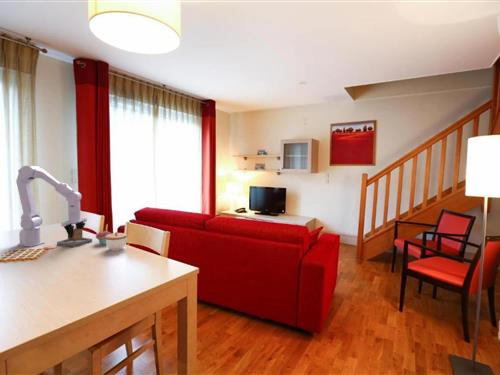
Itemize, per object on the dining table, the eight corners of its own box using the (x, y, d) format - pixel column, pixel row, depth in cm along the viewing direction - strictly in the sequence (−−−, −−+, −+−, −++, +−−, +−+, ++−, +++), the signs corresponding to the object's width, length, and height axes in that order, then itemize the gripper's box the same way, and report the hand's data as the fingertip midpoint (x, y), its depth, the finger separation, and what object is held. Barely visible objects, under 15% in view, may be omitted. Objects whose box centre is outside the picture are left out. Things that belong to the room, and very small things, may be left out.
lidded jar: (118, 253, 141) (118, 235, 140) (100, 251, 143) (100, 233, 142) (131, 247, 151) (131, 230, 150) (114, 245, 153) (114, 229, 153)
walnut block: (67, 240, 153) (67, 229, 152) (75, 238, 158) (75, 228, 157) (74, 241, 152) (74, 230, 151) (82, 239, 156) (82, 228, 156)
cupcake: (115, 241, 160) (115, 222, 159) (106, 245, 152) (106, 225, 151) (102, 240, 161) (101, 221, 160) (92, 245, 153) (92, 224, 152)
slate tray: (57, 244, 151) (56, 241, 151) (76, 239, 162) (76, 236, 162) (73, 247, 147) (73, 244, 147) (92, 241, 159) (91, 238, 159)
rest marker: (40, 248, 143) (40, 248, 143) (51, 245, 149) (51, 245, 149) (48, 250, 142) (48, 249, 142) (59, 246, 148) (59, 246, 148)
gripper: (68, 215, 145) (68, 240, 146) (90, 211, 159) (91, 233, 160) (58, 214, 147) (58, 238, 148) (81, 210, 161) (81, 232, 162)
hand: (74, 236), depth 155 cm, fingers closed on walnut block, 5 cm apart
